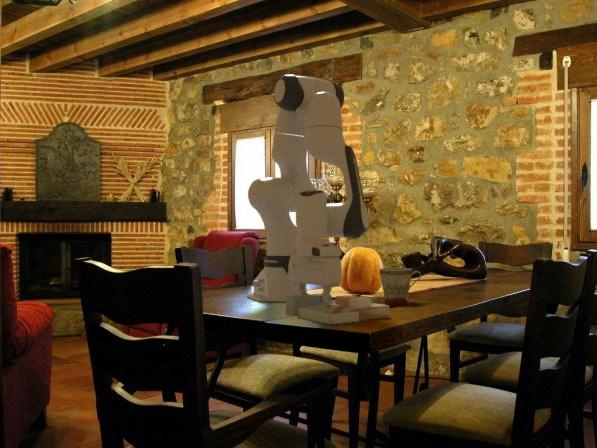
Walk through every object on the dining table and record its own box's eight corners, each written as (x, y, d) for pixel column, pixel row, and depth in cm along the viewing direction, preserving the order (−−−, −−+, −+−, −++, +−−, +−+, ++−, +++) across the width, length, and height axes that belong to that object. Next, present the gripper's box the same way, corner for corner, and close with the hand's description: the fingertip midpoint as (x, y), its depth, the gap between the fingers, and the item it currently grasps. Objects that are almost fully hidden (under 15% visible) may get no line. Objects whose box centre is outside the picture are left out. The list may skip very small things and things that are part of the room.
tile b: (349, 306, 155) (349, 298, 155) (361, 305, 158) (361, 297, 158) (359, 307, 152) (359, 299, 152) (371, 306, 154) (371, 298, 154)
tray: (297, 317, 157) (297, 308, 157) (325, 315, 161) (325, 305, 161) (330, 325, 144) (330, 314, 144) (358, 322, 149) (358, 311, 149)
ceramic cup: (383, 303, 183) (383, 270, 183) (376, 299, 193) (376, 268, 193) (426, 302, 185) (425, 269, 185) (416, 298, 194) (416, 267, 194)
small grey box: (294, 316, 160) (293, 297, 160) (286, 315, 164) (285, 296, 164) (331, 312, 167) (331, 294, 167) (323, 311, 170) (323, 293, 170)
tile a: (335, 303, 161) (335, 296, 161) (348, 302, 163) (347, 295, 163) (344, 305, 157) (344, 297, 157) (357, 304, 159) (357, 296, 159)
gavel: (396, 292, 186) (422, 295, 179) (395, 308, 186) (422, 311, 178) (348, 293, 173) (374, 296, 165) (347, 310, 172) (374, 313, 165)
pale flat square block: (327, 315, 160) (327, 304, 160) (360, 312, 166) (360, 300, 166) (355, 321, 150) (355, 309, 150) (389, 317, 156) (389, 305, 156)
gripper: (282, 250, 172) (283, 299, 172) (325, 250, 155) (327, 304, 155) (300, 249, 175) (301, 297, 175) (345, 249, 158) (346, 302, 158)
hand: (314, 301), depth 165 cm, fingers open, 8 cm apart
